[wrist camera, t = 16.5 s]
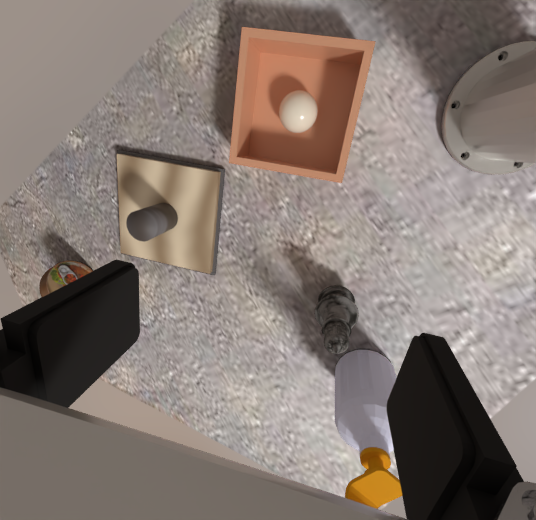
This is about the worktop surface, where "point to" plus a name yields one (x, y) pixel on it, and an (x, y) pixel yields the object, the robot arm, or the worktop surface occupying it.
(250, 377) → the worktop surface
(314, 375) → the worktop surface
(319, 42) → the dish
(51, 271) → the tin
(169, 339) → the worktop surface
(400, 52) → the worktop surface
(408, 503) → the robot arm
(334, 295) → the salt shaker
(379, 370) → the soap bottle
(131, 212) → the lid
